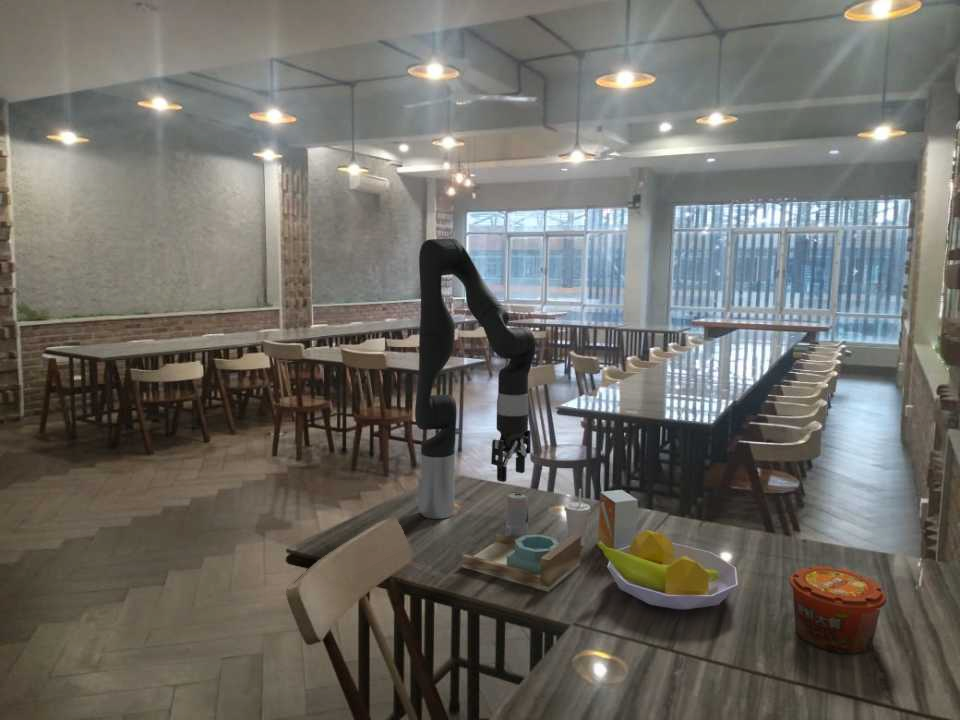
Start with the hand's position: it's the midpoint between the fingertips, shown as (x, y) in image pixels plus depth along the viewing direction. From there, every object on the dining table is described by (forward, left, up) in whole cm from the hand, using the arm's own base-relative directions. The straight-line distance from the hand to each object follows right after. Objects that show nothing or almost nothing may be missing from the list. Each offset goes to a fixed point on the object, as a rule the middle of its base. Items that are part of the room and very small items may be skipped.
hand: (511, 476), depth 169 cm
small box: (+22, +15, -18) cm, 32 cm away
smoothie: (+13, +11, -18) cm, 24 cm away
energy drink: (0, +4, -18) cm, 18 cm away
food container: (+71, -3, -18) cm, 74 cm away
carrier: (+12, -8, -17) cm, 22 cm away
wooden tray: (+8, -8, -18) cm, 21 cm away
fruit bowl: (+40, -3, -18) cm, 44 cm away
